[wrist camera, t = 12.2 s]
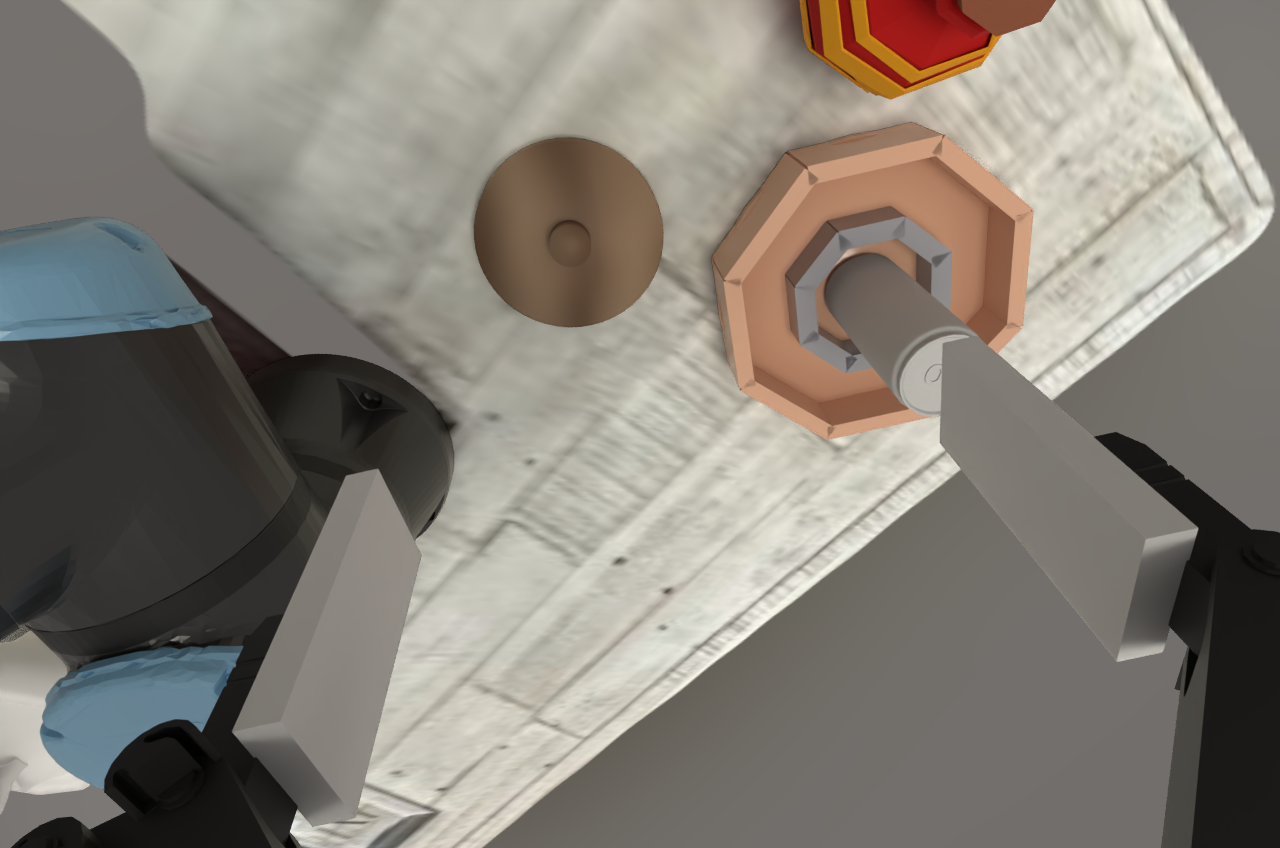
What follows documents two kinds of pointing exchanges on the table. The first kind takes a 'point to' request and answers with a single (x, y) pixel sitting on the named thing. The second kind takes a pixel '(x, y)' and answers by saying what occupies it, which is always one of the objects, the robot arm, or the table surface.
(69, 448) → the robot arm
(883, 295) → the beverage can
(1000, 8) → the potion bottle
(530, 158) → the walnut lid
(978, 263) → the dish
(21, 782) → the potted plant
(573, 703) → the table surface
